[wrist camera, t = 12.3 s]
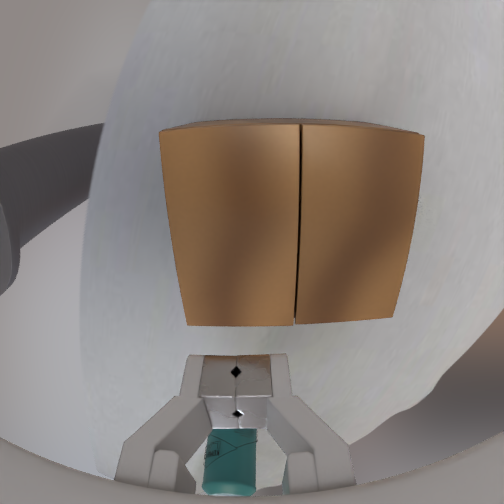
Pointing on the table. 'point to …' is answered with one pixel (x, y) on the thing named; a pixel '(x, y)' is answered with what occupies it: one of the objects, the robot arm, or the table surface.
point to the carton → (350, 215)
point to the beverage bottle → (230, 462)
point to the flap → (234, 221)
